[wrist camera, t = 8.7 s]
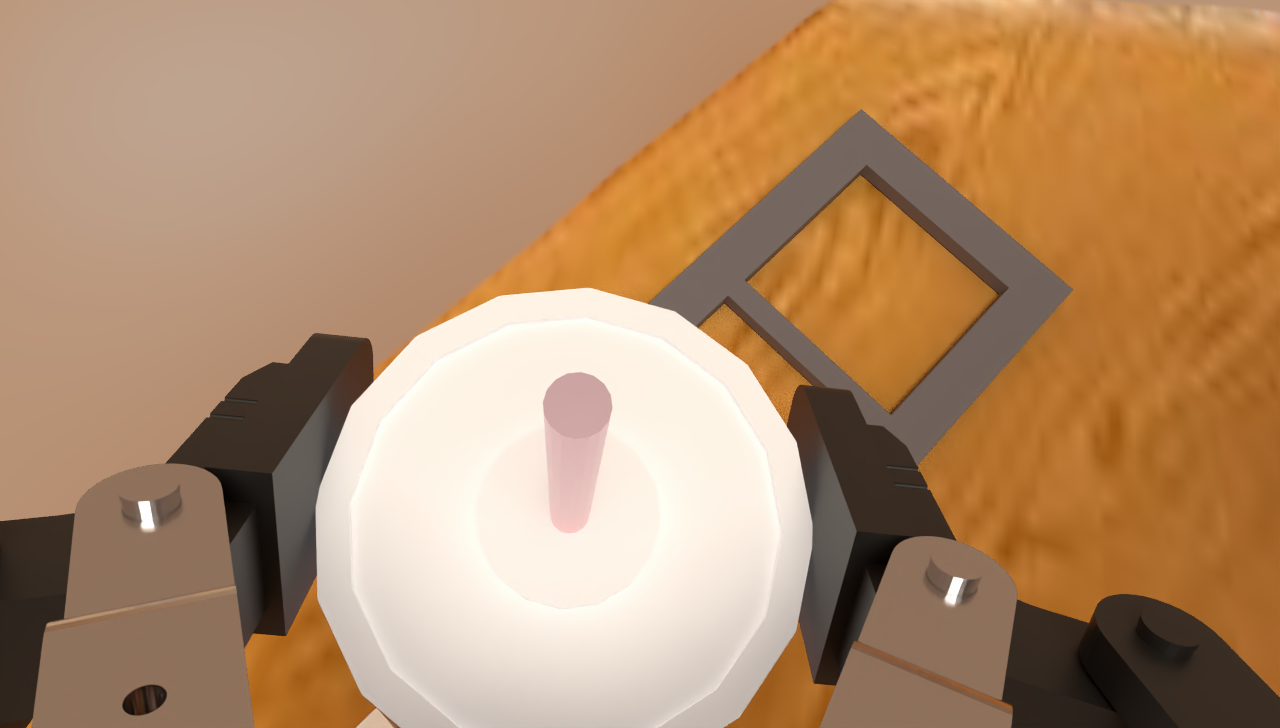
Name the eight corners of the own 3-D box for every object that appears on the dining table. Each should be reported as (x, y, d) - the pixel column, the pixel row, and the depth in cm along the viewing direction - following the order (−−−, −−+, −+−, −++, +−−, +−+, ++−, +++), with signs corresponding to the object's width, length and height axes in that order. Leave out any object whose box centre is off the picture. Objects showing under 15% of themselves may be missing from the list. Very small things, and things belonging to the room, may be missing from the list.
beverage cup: (742, 668, 19) (1176, 703, 6) (466, 772, 18) (192, 1122, 4) (650, 409, 20) (814, -38, 7) (392, 489, 19) (33, 134, 6)
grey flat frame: (855, 119, 39) (861, 109, 39) (1062, 296, 38) (1073, 289, 37) (328, 601, 31) (322, 600, 30) (559, 862, 29) (559, 867, 28)
